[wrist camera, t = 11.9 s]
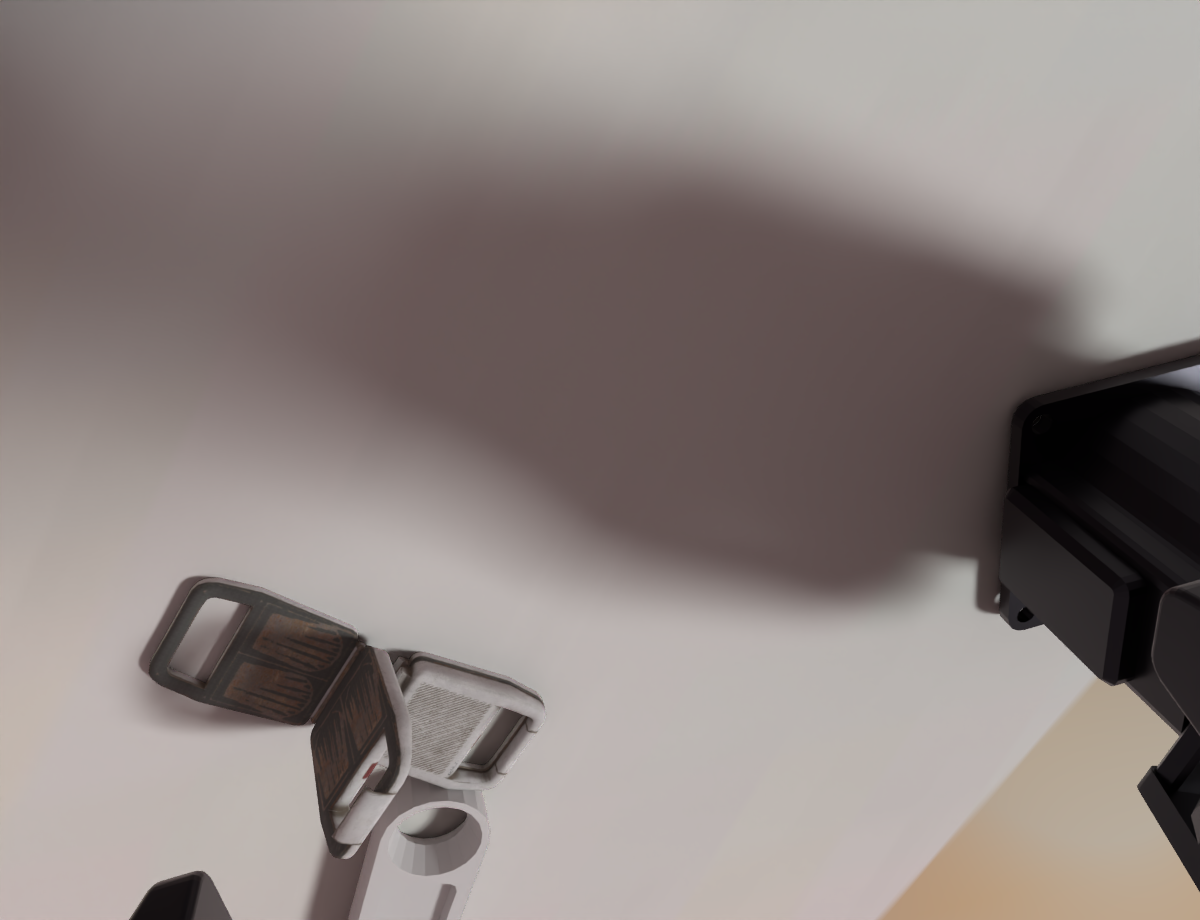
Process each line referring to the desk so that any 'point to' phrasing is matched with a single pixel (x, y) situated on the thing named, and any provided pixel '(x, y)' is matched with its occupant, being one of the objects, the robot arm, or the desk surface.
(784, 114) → the desk surface
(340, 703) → the strap clip
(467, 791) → the adjustable wrench
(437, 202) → the desk surface
